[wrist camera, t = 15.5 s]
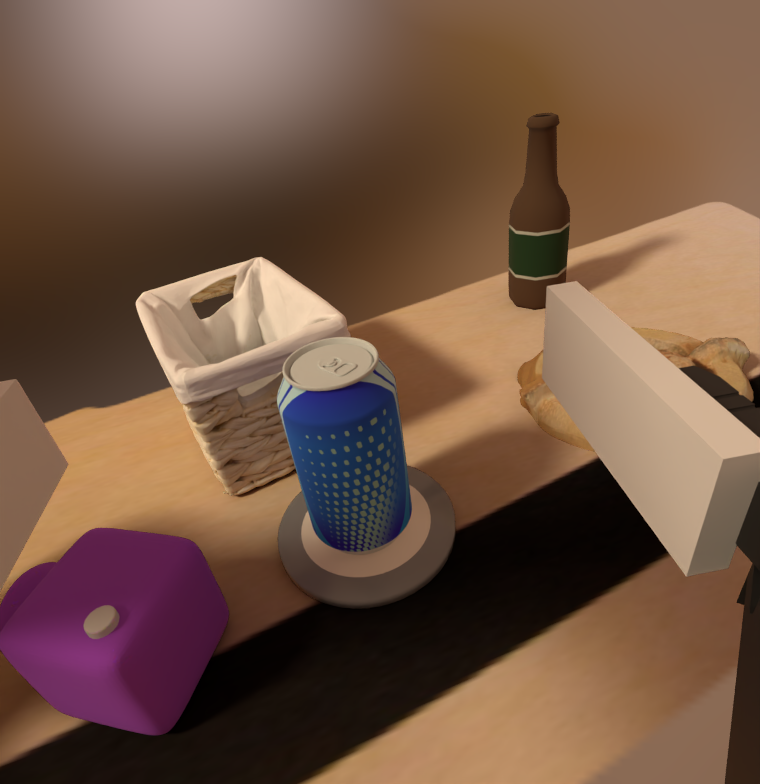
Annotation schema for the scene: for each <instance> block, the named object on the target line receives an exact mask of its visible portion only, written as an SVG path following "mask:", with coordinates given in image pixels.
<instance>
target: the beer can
mask: <svg viewBox="0 0 760 784" xmlns="http://www.w3.org/2000/svg"><path fill="white" fill-rule="evenodd" d="M282 371H283V376H284V377H283V380H282V383H281V385H280V388H279V390H278V394H277V405H278V409H279V413H280V416H281V419H282V423H283V426H284V430H285V433H286V437H287V440H288V444H289V447H290V451H291V454H292V458H293V461H294V464H295V468H296V471H297V475H298V478H299V482H300V485H301V489H302V492H303V496H304V499H305V503H306V506H307V509H308V513H309V516H310V520H311V523H312V527H313V529H314V532H315V533H316V535H317V536H318V538H319V539H320V540H321V541H322V542H323V543H325V544H326V545H328V546H329V547H331V548H334V549H336V550H339V551H341V552H343V553H347V554H352V555H365V554H371V553H374V552H377V551H380V550H382V549H384V548H385V547H387V546H389V545H390V544H391V543H392V542H394V541H395V540H396V538H397V537H398V536H399V535H400V534H401V533H402V532H403V530H404V529H405V528H406V526H407V525H408V523H409V520H410V518H411V513H412V502H411V495H410V487H409V479H408V472H407V464H406V456H405V449H404V441H403V433H402V426H401V418H400V410H399V403H398V395H397V387H396V381H395V377H394V375H393V373H392V371H391V370H390V369H389V367H388V366H387V365H386V364H385V363H384V362H383V361H382V360H381V359H380V358H379V355H378V351H377V349H376V348H375V347H374V346H373V345H372V344H371V343H369V342H367V341H365V340H362V339H358V338H353V337H334V338H327V339H322V340H318V341H315V342H312V343H309V344H307V345H305V346H303V347H301V348H299V349H298V350H296V351H295V352H293V353H292V354H291V355H290V356H289V357H288V358H287V359H286V361H285V362H284V365H283V369H282Z"/></svg>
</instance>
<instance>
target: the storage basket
mask: <svg viewBox="0 0 760 784" xmlns="http://www.w3.org/2000/svg"><path fill="white" fill-rule="evenodd" d="M233 292H234V298H233V299H232V300H231V301H230V302H228V303H226V304H225V305H224V306H222V307H221V308H220V309H219V310H218V311H217V312H216V313H215V314H214V315H212V316H211V317H208V318H205V319H202V320H201V319H199V318H198V316H197V315H196V312H195V311H194V309H193V306H192V303H195V302H198V303H199V302H202V301H203V300H206V299H210V298H213V297H217V296H221V295H225V294H229V293H233ZM136 307H137V311H138V314H139V316H140V319H141V322H142V324H143V327H144V329H145V332H146V334H147V336H148V339H149V341H150V343H151V345H152V348H153V349H154V352H155V354H156V356H157V358H158V359H159V362H160V364H161V366H162V368H163V370H164V372H165V374H166V376H167V378H168V380H169V382H170V384H171V386H172V388H173V390H174V392H175V394H176V396H177V398H178V400H179V401H180V402H181V404H182V405H183V408H184V411H185V413H186V418H187V420H188V422H189V425H190V428H191V430H192V431H193V433H194V436H195V438H196V440H197V441H198V443H199V444H200V447H201V450H202V451H203V453H204V456H205V458H206V459H207V461H208V463H209V465H210V466H211V468H212V470H213V471H214V474H215V476H216V478H217V479H218V480H219V481H220V482H221V483H222V484H223V485H224V488H225V490H226V491H224V492H223V493H227V494H229V495H231V496H235V495H238V494H243V493H245V492H248V491H250V490H252V489H253V488H255V487H258V486H262V485H264V484H266V483H268V482H270V481H272V480H273V479H276V478H279V477H282V476H284V475H286V474H288V473H290V472H291V471H292V470H294V469H296V468H295V464H294V461H293V458H292V454H291V451H290V447H289V444H288V440H287V437H286V433H285V430H284V426H283V423H282V419H281V416H280V413H279V409H278V405H277V394H278V390H279V388H280V385H281V383H282V380H283V377H284V376H283V371H282V369H283V365H284V362H285V361H286V359H287V358H288V357H289V356H290V355H291V354H292V353H293V352H295V351H296V350H298V349H299V348H301V347H303V346H305V345H307V344H309V343H312V342H315V341H318V340H322V339H327V338H334V337H351V335H350V333H349V331H348V329H347V323H346V318H345V317H344V315H342V314H341V313H340V312H339V311H338V310H336V309H335V308H334V307H332V306H331V305H330V304H329V303H328V302H327V301H325V300H324V299H322V298H321V297H320V296H318V295H317V294H315V293H314V292H313V291H311V290H310V289H308V288H307V287H305V286H304V285H303V284H301V283H300V282H298V281H297V280H295V279H294V278H292V277H291V276H290V275H288V274H287V273H286V272H284V271H283V270H281V269H280V268H279V267H277V266H276V265H274V264H273V263H271V262H269V261H268V260H266V259H265V258H263V257H259V258H253V259H251V260H248V261H246V262H242V263H238V264H234V265H231V266H228V267H224V268H221V269H217V270H214V271H211V272H207V273H204V274H201V275H198V276H194V277H191V278H188V279H185V280H182V281H179V282H176V283H173V284H169V285H166V286H163V287H160V288H157V289H153V290H149V291H147V292H144V293H142V294H141V296H140V297H139V298H138V299H137V301H136Z"/></svg>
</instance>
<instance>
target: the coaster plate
mask: <svg viewBox="0 0 760 784" xmlns="http://www.w3.org/2000/svg"><path fill="white" fill-rule="evenodd" d="M407 472H408V479H409V487H410V495H411V502H412V513H411V518H410V520H409V523H408V525H407V526H406V528H405V529H404V530H403V532H402V533H401V534H400V535H399V536H398V537H397V538H396V540H395V541H394V542H392V543H391V544H390V545H389V546H387V547H385V548H384V549H382V550H380V551H377V552H374V553H371V554H365V555H352V554H347V553H343V552H341V551H339V550H336V549H334V548H331V547H329V546H328V545H326V544H325V543H323V542H322V541H321V540H320V539H319V538H318V536H317V535H316V533H315V532H314V529H313V527H312V523H311V520H310V516H309V513H308V509H307V506H306V503H305V499H304V496H303V492H302V491H301V492H300V493H299V494H298V495H297V496H296V497H295V498H294V500H293V501H292V502H291V503H290V505H289V506H288V508H287V510H286V511H285V513H284V516H283V518H282V520H281V523H280V527H279V532H278V549H279V553H280V557H281V560H282V563H283V565H284V568H285V570H286V572H287V574H288V576H289V577H290V579H291V580H292V582H293V583H294V584H295V585H296V586H297V587H298V588H299V589H300V590H301V591H303V592H304V593H305V594H307V595H308V596H310V597H312V598H313V599H315V600H317V601H320V602H322V603H325V604H327V605H331V606H336V607H340V608H349V609H366V608H373V607H380V606H384V605H387V604H391V603H394V602H397V601H399V600H402V599H404V598H406V597H408V596H410V595H412V594H414V593H415V592H417V591H418V590H420V589H421V588H423V587H424V586H426V585H427V584H428V583H429V582H430V581H431V580H432V579H433V578H435V576H436V575H437V574H438V573H439V572H440V571H441V569H442V568H443V566H444V565H445V563H446V562H447V560H448V558H449V556H450V554H451V552H452V549H453V545H454V541H455V533H456V528H455V514H454V510H453V505H452V503H451V501H450V498H449V496H448V495H447V493H446V492H445V490H444V489H443V488H442V487H441V486H440V484H439V483H438V482H436V481H435V480H434V479H433V478H432V477H430V476H429V475H427V474H425V473H424V472H422V471H420V470H418V469H416V468H413V467H410V466H407Z"/></svg>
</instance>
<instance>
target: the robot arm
mask: <svg viewBox="0 0 760 784" xmlns="http://www.w3.org/2000/svg"><path fill="white" fill-rule="evenodd" d="M542 379H543V380H544V382H545V383H546V384H547V386H548V387H549V389H550V390H551V391H552V393H553V394H554V395H555V397H556V398H557V400H558V401H559V402H560V404H561V405H562V406H563V408H564V409H565V411H566V412H567V413H568V415H569V416H570V417H571V419H572V420H573V422H574V423H575V424H576V426H577V427H578V428H579V430H580V431H581V433H582V434H583V435H584V437H585V438H586V439H587V441H588V442H589V444H590V445H591V446H592V448H593V449H594V450H595V452H596V453H597V455H598V456H599V457H600V459H601V460H602V461H603V463H604V464H605V466H606V467H607V468H608V470H609V471H610V472H611V474H612V475H613V477H614V478H615V479H616V481H617V482H618V483H619V485H620V486H621V488H622V489H623V490H624V492H625V493H626V494H627V496H628V497H629V499H630V500H631V501H632V503H633V504H634V505H635V507H636V508H637V510H638V511H639V512H640V514H641V515H642V516H643V518H644V519H645V521H646V522H647V523H648V525H649V526H650V527H651V529H652V530H653V532H654V533H655V534H656V536H657V537H658V538H659V540H660V541H661V543H662V544H663V545H664V547H665V548H666V549H667V551H668V552H669V554H670V555H671V556H672V558H673V559H674V560H675V562H676V563H677V565H678V566H679V567H680V569H681V570H682V571H683V573H684V574H685V576H686V577H687V576H692V575H697V574H702V573H707V572H712V571H717V570H722V569H727V568H728V567H729V565H730V562H731V560H732V557H733V554H734V552H735V549H736V546H738V547H739V548H740V549H741V550H742V551H743V553H744V554H745V555H746V556H747V557H748V558H749V559H750V561H751V562H752V563H753V564H752V566H751V569H750V571H749V573H748V576H747V578H746V581H745V583H744V585H743V588H742V590H741V593H740V595H739V597H738V600H737V603H740V604H742V605H744V613H743V622H742V631H741V640H740V649H739V658H738V668H737V677H736V686H735V695H734V704H733V714H732V722H731V732H730V740H729V749H728V759H727V767H726V776H725V777H726V778H725V784H760V408H755V404H754V403H752V402H751V401H750V400H749V399H747V398H746V397H745V396H744V395H739V391H737V390H736V389H735V388H734V387H732V386H731V385H730V384H729V383H727V382H726V381H725V380H724V379H722V378H721V377H719V376H717V375H715V374H713V373H710V372H708V371H706V370H703V369H701V368H699V367H696V366H694V365H693V366H688V367H683V368H677V367H676V366H675V365H674V364H673V363H672V362H670V361H669V360H668V359H667V358H666V357H665V356H663V355H662V354H661V353H660V352H659V351H658V350H656V349H655V348H654V347H653V346H652V345H651V344H649V343H648V342H647V341H646V340H645V339H644V338H642V337H641V336H640V335H639V334H638V333H637V332H635V331H634V330H633V329H632V328H631V327H630V326H628V325H627V324H626V323H625V322H624V321H623V320H621V319H620V318H619V317H618V316H617V315H616V314H614V313H613V312H612V311H611V310H610V309H609V308H607V307H606V306H605V305H604V304H603V303H602V302H600V301H599V300H598V299H597V298H596V297H595V296H593V295H592V294H591V293H590V292H589V291H588V290H586V289H585V288H584V287H583V286H582V285H581V284H579V283H578V282H577V281H573V282H568V283H562V284H556V285H551V286H547V291H546V310H545V329H544V348H543V367H542ZM67 466H68V462H67V461H66V459H65V458H64V456H63V454H62V453H61V451H60V449H59V448H58V446H57V444H56V443H55V441H54V440H53V438H52V436H51V435H50V433H49V431H48V430H47V428H46V427H45V425H44V423H43V422H42V420H41V418H40V417H39V415H38V413H37V412H36V410H35V409H34V407H33V405H32V404H31V402H30V400H29V399H28V397H27V395H26V394H25V392H24V391H23V389H22V387H21V386H20V384H19V383H18V381H17V379H14V380H8V381H3V382H0V591H1V589H2V587H3V585H4V583H5V581H6V579H7V578H8V576H9V574H10V572H11V570H12V568H13V566H14V565H15V563H16V561H17V559H18V557H19V555H20V553H21V552H22V550H23V548H24V546H25V544H26V542H27V540H28V539H29V537H30V535H31V533H32V531H33V529H34V527H35V526H36V524H37V522H38V520H39V518H40V516H41V514H42V513H43V511H44V509H45V507H46V505H47V503H48V501H49V499H50V498H51V496H52V494H53V492H54V490H55V488H56V486H57V485H58V483H59V481H60V479H61V477H62V475H63V473H64V472H65V470H66V468H67Z"/></svg>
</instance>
